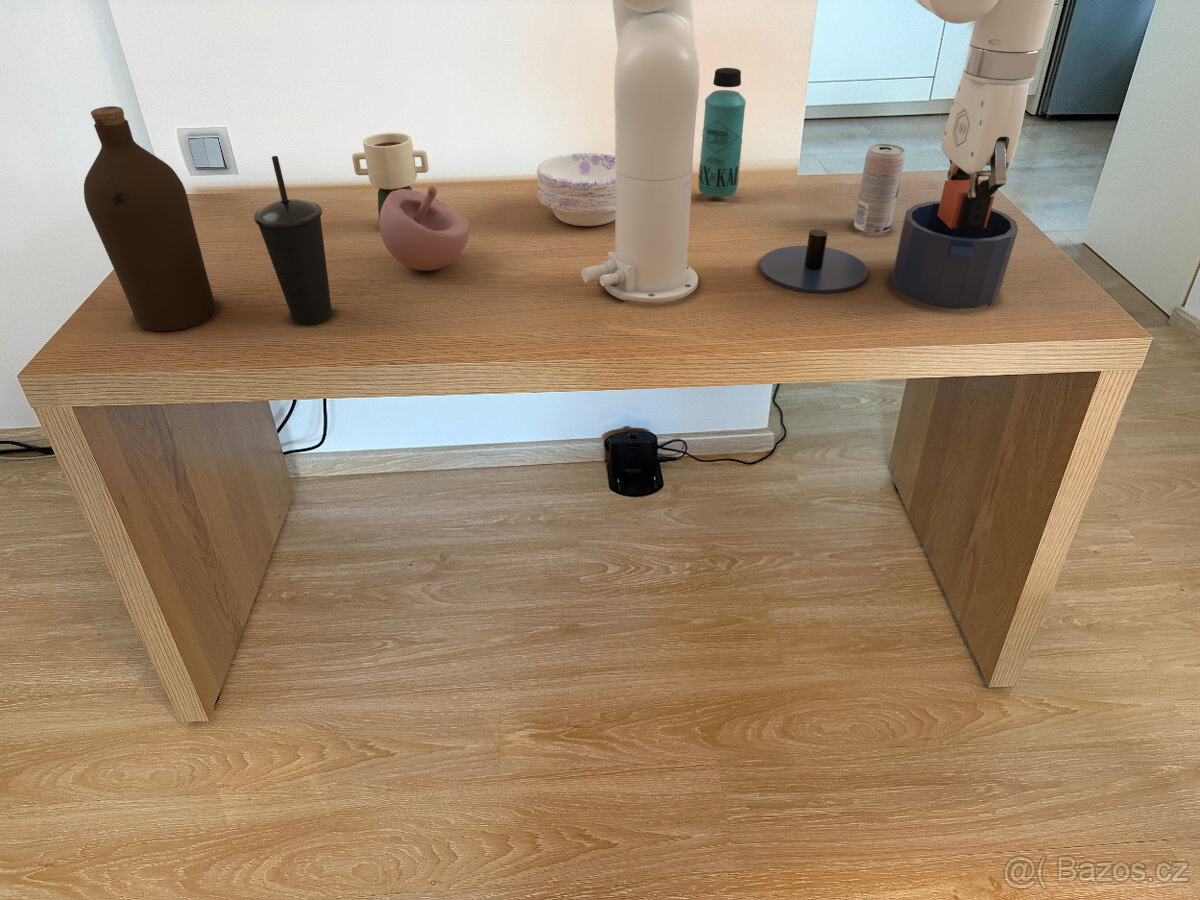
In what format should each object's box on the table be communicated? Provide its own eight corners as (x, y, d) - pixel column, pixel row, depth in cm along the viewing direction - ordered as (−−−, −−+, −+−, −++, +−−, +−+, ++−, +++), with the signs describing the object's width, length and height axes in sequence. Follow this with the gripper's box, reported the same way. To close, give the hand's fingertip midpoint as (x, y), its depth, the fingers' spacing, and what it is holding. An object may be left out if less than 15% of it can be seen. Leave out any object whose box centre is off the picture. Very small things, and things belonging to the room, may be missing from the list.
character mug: (437, 214, 134) (426, 130, 126) (434, 232, 128) (423, 145, 120) (367, 218, 133) (352, 133, 125) (361, 235, 127) (345, 148, 119)
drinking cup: (284, 335, 102) (241, 171, 90) (277, 309, 108) (236, 151, 96) (348, 323, 105) (314, 162, 93) (338, 298, 110) (304, 143, 98)
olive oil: (233, 317, 106) (171, 111, 91) (145, 343, 101) (64, 129, 86) (205, 288, 113) (143, 92, 98) (121, 312, 108) (42, 108, 93)
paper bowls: (625, 195, 140) (625, 147, 135) (644, 230, 128) (646, 178, 123) (534, 202, 138) (531, 153, 133) (545, 238, 126) (542, 185, 121)
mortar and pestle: (470, 283, 114) (461, 200, 107) (381, 287, 113) (366, 204, 106) (475, 247, 123) (467, 169, 116) (392, 250, 123) (379, 172, 116)
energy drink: (886, 223, 129) (902, 143, 122) (892, 236, 125) (909, 155, 118) (850, 222, 130) (864, 143, 123) (855, 235, 125) (870, 154, 118)
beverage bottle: (697, 191, 141) (706, 63, 129) (737, 193, 140) (749, 64, 128) (696, 205, 136) (704, 73, 124) (737, 207, 135) (749, 74, 123)
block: (986, 227, 104) (995, 192, 101) (950, 228, 104) (959, 192, 101) (971, 214, 107) (980, 179, 105) (936, 215, 107) (945, 180, 105)
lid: (868, 259, 119) (876, 218, 115) (863, 303, 108) (871, 260, 104) (766, 248, 122) (771, 208, 119) (752, 290, 111) (756, 247, 108)
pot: (991, 266, 117) (1010, 199, 111) (1001, 328, 102) (1024, 255, 97) (892, 255, 120) (906, 189, 114) (889, 314, 105) (905, 242, 100)
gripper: (940, 48, 101) (909, 197, 112) (999, 82, 88) (957, 248, 98) (1002, 47, 101) (964, 195, 112) (1070, 81, 88) (1020, 246, 99)
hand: (961, 218), depth 105 cm, fingers closed on block, 4 cm apart
